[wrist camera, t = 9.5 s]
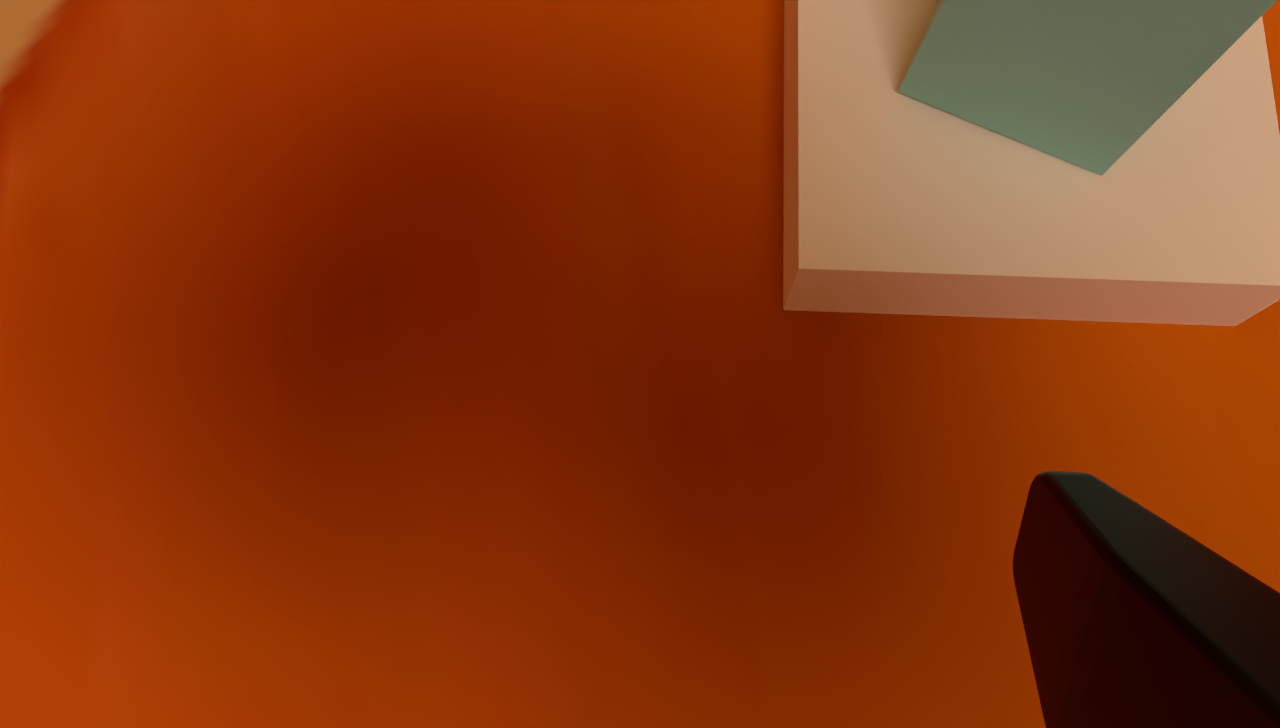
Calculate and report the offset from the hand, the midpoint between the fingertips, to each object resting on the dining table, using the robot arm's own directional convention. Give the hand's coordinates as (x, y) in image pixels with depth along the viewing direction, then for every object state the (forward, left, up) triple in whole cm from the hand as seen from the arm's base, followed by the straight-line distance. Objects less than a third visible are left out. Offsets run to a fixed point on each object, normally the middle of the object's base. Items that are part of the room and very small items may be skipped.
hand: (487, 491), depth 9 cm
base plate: (+12, -9, -14) cm, 20 cm away
